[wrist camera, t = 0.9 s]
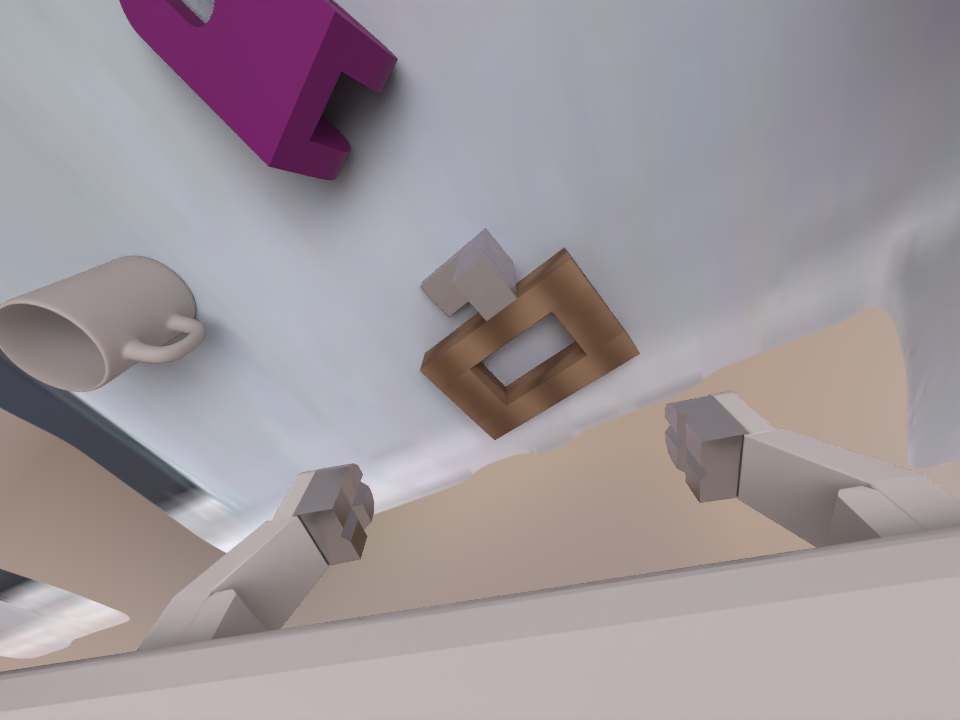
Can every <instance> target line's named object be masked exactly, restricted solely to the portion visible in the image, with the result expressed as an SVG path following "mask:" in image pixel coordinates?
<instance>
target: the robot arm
mask: <svg viewBox="0 0 960 720" xmlns="http://www.w3.org/2000/svg"><path fill="white" fill-rule="evenodd" d="M665 418H666V420H667V421H668V422H669V424H670V426H669V427H668V429H667V430H666V432H665V435H666V444H667V448H668V452H669V455H670V457H671V459H672V461H673V463H674V464H675V466H676V468H677V469H679V470H681V471H683V472H685V473H686V483H687V484H688V486H689V488H690V489H691V491H692V492H693V493H694V495H695V497H696V498H697V499H698V501H699V503H702V502H708V501H716V500H724V499H730V498H738V499H739V500H740V501H742V502H743V503H745V504H747V505H748V506H750V507H752V508H753V509H755V510H756V511H758V512H760V513H761V514H763V515H765V516H766V517H768V518H769V519H771V520H773V521H774V522H776V523H778V524H779V525H781V526H783V527H784V528H786V529H787V530H789V531H791V532H793V533H794V534H796V535H797V536H799V537H800V538H802V539H804V540H806V541H807V542H809V543H810V544H812V545H813V546H815V547H817V548H811V549H804V550H798V551H791V552H785V553H778V554H772V555H765V556H758V557H753V558H745V559H739V560H732V561H726V562H719V563H712V564H706V565H699V566H693V567H686V568H679V569H673V570H666V571H660V572H653V573H647V574H640V575H633V576H627V577H620V578H614V579H607V580H601V581H594V582H587V583H581V584H575V585H568V586H561V587H555V588H548V589H541V590H535V591H528V592H522V593H515V594H509V595H502V596H495V597H489V598H482V599H475V600H469V601H463V602H456V603H450V604H443V605H436V606H430V607H423V608H417V609H410V610H403V611H397V612H390V613H383V614H377V615H370V616H364V617H358V618H351V619H344V620H338V621H331V622H325V623H318V624H311V625H305V626H298V627H291V628H285V629H281V627H282V626H283V625H284V623H285V622H286V621H287V620H288V618H289V617H290V616H291V615H292V613H293V612H294V611H295V610H296V608H297V607H298V606H299V605H300V603H301V602H302V601H303V600H304V598H305V597H306V596H307V594H308V593H309V592H310V591H311V589H312V588H313V587H314V586H315V584H316V583H317V582H318V581H319V579H320V578H321V577H322V575H323V574H324V573H325V572H326V571H327V569H328V568H329V565H334V564H339V563H344V562H349V561H354V560H359V559H361V556H362V552H363V549H364V545H365V542H366V538H367V535H366V533H365V531H364V529H365V528H366V527H367V526H368V525H369V524H370V523H371V521H372V517H373V514H374V500H373V496H372V493H371V490H370V488H369V486H367V485H366V484H364V483H362V482H361V478H362V475H363V474H362V472H361V470H360V468H359V466H358V465H356V464H347V465H341V466H335V467H329V468H323V469H319V470H312V471H307V472H302V473H301V474H299V475H297V477H296V479H295V481H294V482H293V484H292V486H291V488H290V489H289V491H288V493H287V495H286V496H285V498H284V500H283V502H282V503H281V505H280V507H279V509H278V510H277V512H276V514H275V516H274V517H273V519H272V520H271V521H266V522H265V523H264V524H262V525H261V526H260V527H259V528H258V529H256V530H255V531H254V532H253V533H251V534H250V535H249V536H248V537H247V538H245V539H244V540H243V541H242V542H240V543H239V544H238V545H237V546H235V547H234V548H233V549H232V550H231V551H229V552H228V553H227V554H226V555H224V556H223V557H222V558H221V559H220V560H218V561H217V562H216V563H215V564H213V565H212V566H211V567H210V568H209V569H207V570H206V571H205V572H204V573H202V575H200V576H199V577H198V578H196V579H195V580H194V581H193V582H192V583H190V584H189V585H188V586H187V587H185V588H184V589H183V590H182V591H180V592H179V593H178V594H177V595H175V596H174V597H173V599H172V600H171V602H170V603H169V604H168V606H167V607H166V609H165V610H164V612H163V613H162V614H161V616H160V617H159V619H158V620H157V622H156V623H155V625H154V626H153V627H152V629H151V630H150V632H149V633H148V635H147V636H146V638H145V639H144V640H143V642H142V643H141V645H140V646H139V648H138V649H137V651H134V652H127V653H122V654H115V655H108V656H101V657H95V658H88V659H82V660H75V661H68V662H62V663H56V664H49V665H42V666H36V667H30V668H22V669H16V670H9V671H2V672H0V720H960V500H959V499H957V498H956V497H954V496H953V495H952V494H950V493H949V492H947V491H946V490H944V489H943V488H942V487H940V486H939V485H937V484H936V483H935V482H933V481H932V480H930V479H929V478H928V477H926V476H925V475H923V474H920V473H917V472H914V471H911V470H908V469H905V468H902V467H899V466H896V465H893V464H890V463H887V462H884V461H881V460H878V459H875V458H872V457H869V456H866V455H863V454H859V453H857V452H853V451H851V450H848V449H845V448H841V447H838V446H835V445H832V444H829V443H826V442H823V441H820V440H817V439H814V438H811V437H808V436H805V435H802V434H799V433H796V432H793V431H790V430H787V429H784V428H782V429H775V428H774V427H773V426H772V425H771V424H769V423H768V422H767V421H766V420H765V419H764V418H763V417H762V416H760V415H759V414H758V413H757V412H756V411H755V410H754V409H753V408H751V407H750V406H749V405H748V404H747V403H746V402H745V401H744V400H742V399H741V398H740V397H739V396H738V395H737V394H736V393H734V392H732V391H725V392H720V393H716V394H711V395H708V396H705V397H699V398H694V399H689V400H684V401H679V402H675V403H669V404H666V407H665Z"/></svg>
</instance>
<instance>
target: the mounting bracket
mask: <svg viewBox="0 0 960 720" xmlns="http://www.w3.org/2000/svg"><path fill="white" fill-rule="evenodd" d="M119 1H120V3H121V6H122V8H123V11H124V13H125V15H126V17H127V19H128V20H129V22H130V24H131V25H132V27H133V28H134V30H135V31H136V32H137V33H138V34H139V36H140V37H141V38H142V39H143V40H144V41H145V42H146V43H147V44H148V45H149V46H150V47H151V48H152V49H153V50H154V51H155V52H156V53H157V54H158V55H159V56H160V57H161V58H162V59H163V60H164V61H165V62H166V63H167V64H168V65H169V66H170V67H171V68H172V69H173V70H174V71H175V72H176V73H177V74H178V75H179V76H180V77H181V78H182V79H183V80H184V81H185V82H186V83H187V84H188V85H189V86H190V87H191V88H192V89H193V90H194V91H195V92H196V93H197V94H198V95H199V96H200V97H201V98H202V99H203V100H204V101H205V102H206V103H207V104H208V105H209V106H210V108H211V109H212V110H213V111H214V112H215V113H216V114H217V115H218V116H219V117H220V118H221V119H222V120H223V121H224V122H225V123H226V124H227V125H228V126H229V127H230V128H231V129H232V130H233V131H234V132H235V133H236V134H237V135H238V136H239V137H240V138H241V139H242V140H243V141H244V142H245V143H246V144H247V145H248V146H249V147H250V148H251V149H252V150H253V151H254V152H255V153H256V154H257V155H258V156H259V157H260V158H261V159H262V160H263V161H264V162H265V163H266V164H267V165H268V166H269V167H273V168H277V169H282V170H286V171H290V172H294V173H299V174H303V175H307V176H311V177H315V178H320V179H324V180H334V179H335V178H336V177H337V175H338V174H339V172H340V170H341V168H342V166H343V164H344V162H345V160H346V158H347V156H348V154H349V152H350V150H351V147H350V144H349V143H348V141H347V140H346V139H345V137H344V136H343V135H342V134H341V133H340V132H339V131H338V130H337V129H336V128H335V127H334V126H333V125H331V124H330V123H329V122H327V121H326V120H325V119H324V118H322V117H321V115H322V113H323V110H324V108H325V106H326V104H327V102H328V100H329V98H330V95H331V93H332V91H333V89H334V87H335V85H336V83H337V80H338V78H339V76H340V74H341V72H343V73H345V74H347V75H348V76H350V77H351V78H353V79H355V80H356V81H358V82H360V83H361V84H363V85H365V86H366V87H368V88H370V89H371V90H373V91H375V92H378V93H381V91H382V89H383V87H384V85H385V83H386V81H387V79H388V77H389V75H390V74H391V72H392V70H393V68H394V66H395V64H396V62H397V60H398V59H397V58H396V56H395V55H394V54H393V53H392V52H391V51H389V50H388V49H387V48H386V47H385V46H384V45H383V44H382V43H381V42H380V41H379V40H378V39H377V38H375V37H374V36H373V35H372V34H371V33H370V32H369V31H368V30H366V29H365V28H364V27H363V26H362V25H361V24H360V23H358V22H357V21H356V20H355V19H354V18H353V17H352V16H351V15H349V14H348V13H347V12H346V11H345V10H344V9H343V8H341V7H340V6H339V5H338V4H337V3H336V2H335V1H333V0H215V4H214V10H213V13H212V16H211V18H210V20H209V21H208V22H207V23H206V24H205V23H204V22H203V21H202V20H201V19H200V18H198V17H197V16H196V15H195V14H194V13H193V12H192V11H191V10H190V9H189V8H188V7H187V6H186V5H185V4H184V3H183V2H182V1H181V0H119Z"/></svg>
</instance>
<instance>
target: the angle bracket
mask: <svg viewBox="0 0 960 720" xmlns="http://www.w3.org/2000/svg"><path fill="white" fill-rule="evenodd" d="M421 288H422V289H423V290H424V292H425V293H426V294H427V295H428V296H429V297H430V298H431V299H432V300H433V301H434V302H435V303H436V304H437V305H438V306H439V307H440V308H441V309H442V310H443V311H444V312H445V313H446V315H447V316H448V317H449V316H451V315H452V314H453V313H454V312H456V311H457V310H458V309H460V308H461V307H462V306H463V305H465V304H466V303H467V302H468V301H469V302H470V303H471V305H472V306H473V307H474V308H475V309H476V310H477V311H478V312H479V313H480V314H481V316H482V317H483V318H484V319H485V320H486V321H488V320H489V319H490V318H492V317H493V316H494V315H496V314H497V313H498V312H500V311H501V310H502V309H504V308H505V307H506V306H508V305H509V304H511V303H512V302H513V301H515V300H516V299H517V291H516V284H515V276H514V268H513V261H512V260H511V259H510V258H509V256H508V255H507V254H506V253H505V251H504V250H503V249H502V248H501V246H500V245H499V244H498V243H497V241H496V240H495V239H494V238H493V236H492V235H491V234H490V233H489V231H488V230H487V229H486V228H485V229H484V230H483V231H481V232H480V233H479V234H478V235H477V236H476V237H474V238H473V239H472V240H471V241H470V242H469V243H467V244H466V245H465V246H464V247H463V248H462V249H460V250H459V251H458V252H457V253H456V254H455V255H453V256H452V257H451V258H450V259H449V260H447V261H446V262H445V263H444V264H443V265H442V266H440V267H439V268H438V269H437V270H436V271H435V272H433V273H432V274H431V275H430V276H429V277H428V278H426V279H425V280H424V281H423V282H422V284H421Z"/></svg>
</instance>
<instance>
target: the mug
mask: <svg viewBox="0 0 960 720" xmlns="http://www.w3.org/2000/svg"><path fill="white" fill-rule="evenodd" d="M195 315H196V306H195V301H194V298H193V296H192V293H191V292H190V290H189V288H188V287H187V285H186V284H185V283H184V281H183V280H182V279H181V278H180V277H179V276H178V275H177V274H176V273H174V272H173V271H172V270H171V269H169V268H168V267H166V266H165V265H163V264H161V263H159V262H157V261H155V260H152V259H149V258H145V257H141V256H126V257H121V258H118V259H115V260H113V261H110V262H108V263H105V264H103V265H100V266H98V267H95V268H93V269H90V270H88V271H85V272H82V273H80V274H77V275H74V276H72V277H69V278H66V279H64V280H61V281H58V282H56V283H53V284H50V285H48V286H45V287H42V288H40V289H37V290H34V291H32V292H29V293H26V294H24V295H21V296H18V297H16V298H13V299H11V300H8V301H6V302H4V303H2V304H1V305H0V348H1V349H2V351H3V352H4V353H5V354H6V355H7V356H8V358H9V359H10V360H11V361H12V362H14V363H15V364H16V365H17V366H18V367H19V368H21V369H22V370H23V371H25V372H26V373H28V374H29V375H31V376H32V377H34V378H36V379H38V380H40V381H41V382H44V383H46V384H48V385H50V386H53V387H56V388H59V389H63V390H68V391H76V392H86V391H92V390H95V389H98V388H100V387H102V386H104V385H105V384H107V383H108V382H110V381H111V380H113V379H114V378H116V377H117V376H119V375H120V374H122V373H123V372H125V371H126V370H127V369H129V368H130V367H132V366H133V365H135V364H136V363H138V362H139V361H140V362H146V363H166V362H171V361H174V360H176V359H179V358H181V357H183V356H185V355H186V354H188V353H190V352H191V351H192V350H194V349H195V348H196V347H197V346H199V344H200V343H201V342H202V341H203V339H204V337H205V335H206V328H205V326H204V325H203V324H202V323H201V322H200V321H198V320H195ZM182 332H184V333H188V334H189V335H188V336H187V337H186V338H184V339H182V340H181V341H179V342H177V343H174V344H172V345H168V346H163V345H164V344H166V343H167V342H169V341H170V340H172V339H173V338H175V337H176V336H178V335H180V334H181V333H182Z"/></svg>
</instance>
